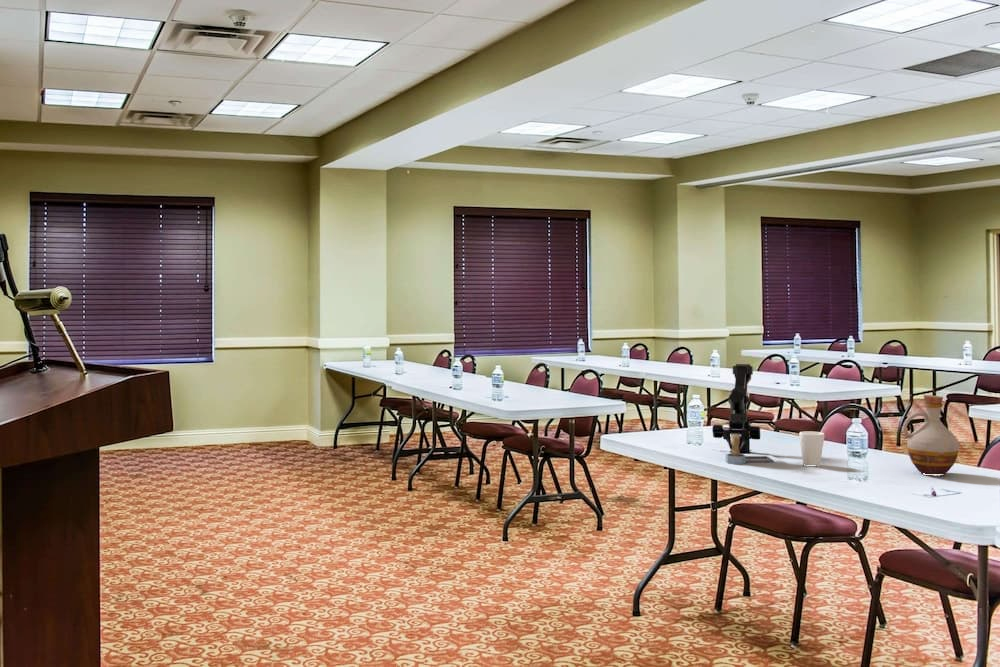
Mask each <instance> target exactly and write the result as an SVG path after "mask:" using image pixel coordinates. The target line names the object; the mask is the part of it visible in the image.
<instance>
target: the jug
mask: <svg viewBox="0 0 1000 667" xmlns="http://www.w3.org/2000/svg"><path fill="white" fill-rule="evenodd" d="M943 399H944V396H940V395H931V394H923V400H924V402H923V407H924V408H925V412H924V411H915V412H914V413H911V414H910V415H909V416H908V417H907V418H906V419H905V420H904V422H903V424H902V432H903V435H904V436H905V437H907V438H908V439H907V442H906V447H907V448H906V450H907V453H908V457H909V459H910V461H911V463H912V464H913V466H914V467H915V468H916V470H917V471H918V472H919V473H920V472H921V473H925V474H945V475H946V473H948V472H949V471H950V469H951V468H952V467H954V465H955V463H956V460H957V459H958V456H959V452H960V443H959V441H958V438H957V437H956V435H955V434H954V433H952V431H951V430H949V428H948V427H946V426H945V425H944V424H943V422H941V410H942V408H943V406H944V404H943ZM919 416H922V417H923V418H924V422H923V423H922V424H921V425H920V426H919V427H917V428H916V429H915V430H914V431H913V432H911V433H908V431H907V430H908V425H909V423H910V422H911V421H912V420H913V419H915V418H916V417H919ZM921 473H920V474H921Z"/></svg>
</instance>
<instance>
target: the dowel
mask: <svg viewBox="0 0 1000 667" xmlns="http://www.w3.org/2000/svg"><path fill="white" fill-rule="evenodd" d="M730 436H731V449H730V450H731V453H730V454H731V456H740V454H741V453H740V450H739V444H740V436H741V435H734V434H733V435H731V434H730Z"/></svg>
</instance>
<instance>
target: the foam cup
mask: <svg viewBox="0 0 1000 667" xmlns="http://www.w3.org/2000/svg"><path fill="white" fill-rule="evenodd" d="M798 435H799V437H798V438H799V440H800V449H801V457H802V464H805V465H820V466H821V461H822V454H823V447H824V441H825V433H824V432H821V431H811V430H810V431H806V430H805V431H800V432H799V434H798Z"/></svg>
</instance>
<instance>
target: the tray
mask: <svg viewBox="0 0 1000 667" xmlns="http://www.w3.org/2000/svg"><path fill="white" fill-rule="evenodd" d="M747 463H749V464H757V463H759V464H760V463H762V464H764V463H765V464H766V463H771V464H773V463H775V461H774V459H772V458H771V457H769V456H768V455H763V456H762V455H759V456H758V455H752V456H751V455H749V456H748V455H747V456H746V455H745V464H747Z"/></svg>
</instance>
